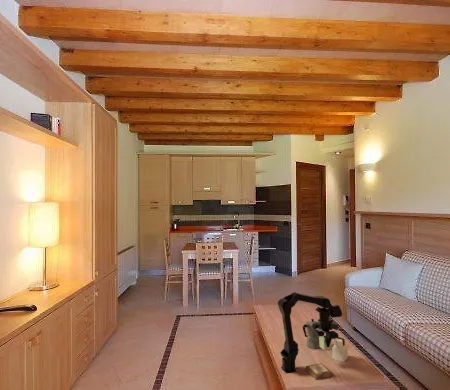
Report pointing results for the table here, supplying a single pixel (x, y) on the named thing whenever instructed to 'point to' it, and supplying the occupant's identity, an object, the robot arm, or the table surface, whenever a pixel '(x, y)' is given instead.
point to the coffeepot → (311, 335)
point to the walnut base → (318, 371)
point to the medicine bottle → (339, 350)
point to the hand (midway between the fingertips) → (325, 345)
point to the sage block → (324, 343)
